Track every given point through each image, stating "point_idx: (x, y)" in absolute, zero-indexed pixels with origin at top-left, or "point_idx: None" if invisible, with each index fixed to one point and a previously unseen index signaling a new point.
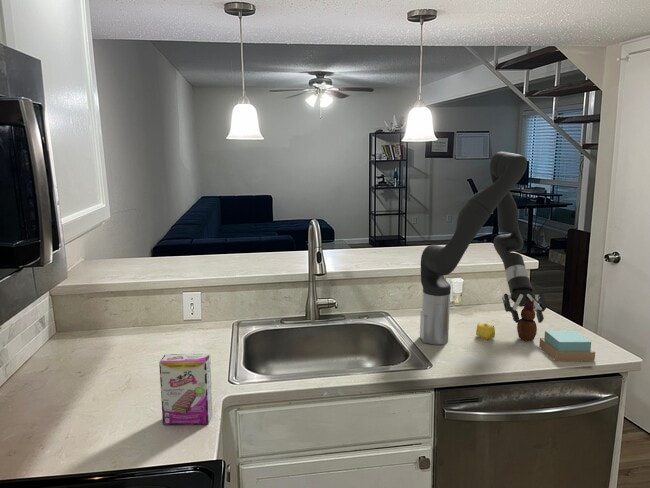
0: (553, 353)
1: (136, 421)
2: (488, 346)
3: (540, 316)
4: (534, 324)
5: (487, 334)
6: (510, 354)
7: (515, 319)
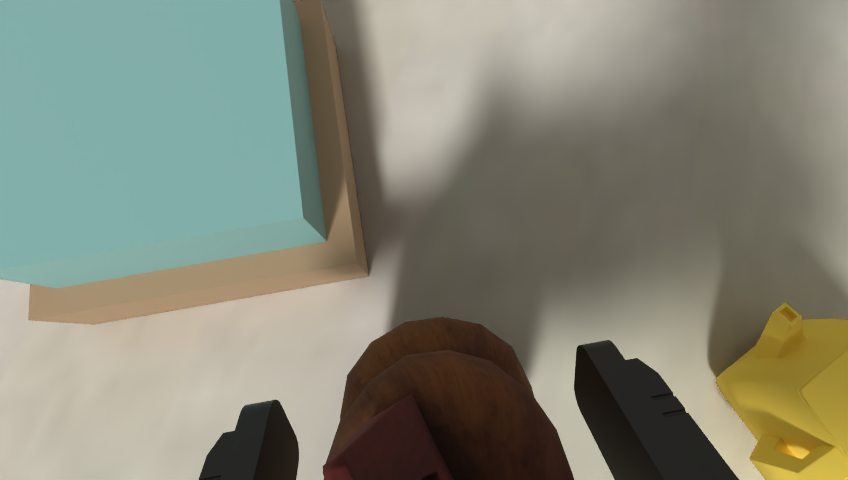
0: (332, 57)
1: None
2: (748, 213)
3: (250, 453)
4: (377, 349)
5: (812, 326)
6: (600, 101)
7: (636, 360)
